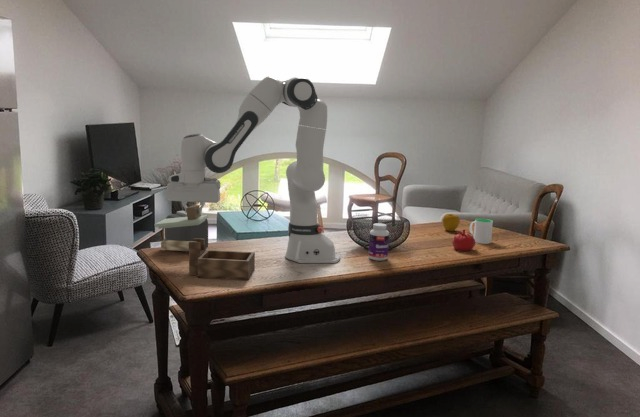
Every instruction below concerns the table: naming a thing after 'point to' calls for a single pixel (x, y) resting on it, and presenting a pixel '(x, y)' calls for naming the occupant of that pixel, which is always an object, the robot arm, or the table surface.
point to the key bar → (175, 245)
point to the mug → (482, 230)
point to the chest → (219, 262)
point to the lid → (183, 219)
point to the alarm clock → (187, 230)
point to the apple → (450, 222)
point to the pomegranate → (463, 241)
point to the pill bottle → (378, 242)
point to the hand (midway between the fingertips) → (193, 213)
